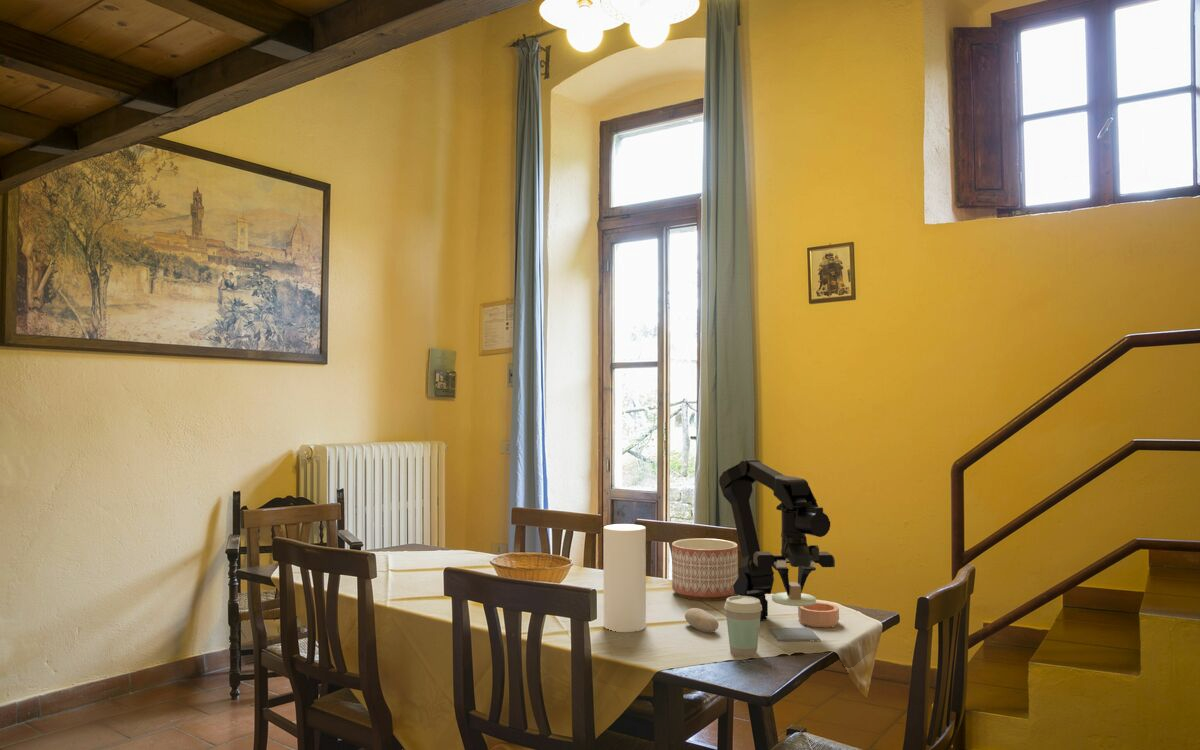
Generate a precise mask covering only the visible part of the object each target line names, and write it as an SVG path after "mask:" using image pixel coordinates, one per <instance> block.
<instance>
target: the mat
mask: <svg viewBox="0 0 1200 750" xmlns="http://www.w3.org/2000/svg"><path fill="white" fill-rule="evenodd" d="M769 629H770V630H769ZM768 630H769V631H770V632H771V634H772V635H773V634H774V635H773V636H774V637H775V639H776V638H777V639H776V640H777V641H778V642H818V641H817V640H820V641H821V638H820V637H819V636H818V635H817V634H816V632H814V631H813V630H812V629H811V627H769V628H768ZM810 640H811V641H810ZM812 640H814V641H812Z"/></svg>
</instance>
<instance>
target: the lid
mask: <svg viewBox="0 0 1200 750" xmlns="http://www.w3.org/2000/svg"><path fill="white" fill-rule="evenodd" d="M789 588H790V591H789V595H787V593H786V591H783V592H782V591H781V592H776V593H774V594H772V596H771V600H772V602H773V603H775V604H778V605H782V606H788V607H789V606H790V607H798V606H809V605H813V604H815V603H816V602H817V598H816V597H815V596H814V595H811V594H808V593H804V592H803V593H801V586H800V585H799V584H798V581H789Z"/></svg>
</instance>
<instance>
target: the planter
mask: <svg viewBox="0 0 1200 750" xmlns="http://www.w3.org/2000/svg"><path fill="white" fill-rule="evenodd" d="M738 547H739V546H738V544H737V543H736V542H735V541H731V540H725V539H718V538H707V537H706V538H703V537H702V538H701V537H700V538H699V537H698V538H685V539H683V538H682V539H678V540H675V541H673V542H672V543H671V556H672V557H671V558H672V559H671V567H672V568H671V574H672V575H671V579H672V580H671V581H672V582H671V589H672V590H673V592H675V593H677V594H678V595H679V596H680V597H682V598H686V599H689V600H695V601H696V600H697V601H721V600H727V598H729V597H732V596H733V595H736V594H735V593H734V588H733V585H734V583H735V582H736V580H737V579H738V578H739V573H738V572H739V566H738V563H739V561H738V556H739V555H738V553H739V552H738V551H739V550H738V549H739V548H738Z"/></svg>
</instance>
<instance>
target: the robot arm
mask: <svg viewBox="0 0 1200 750" xmlns="http://www.w3.org/2000/svg"><path fill="white" fill-rule="evenodd" d="M756 481H757V482H758V483H760V484H761V485H763V486H765V487H767V488H769V489H770V490H772V492H773V496H774V497H775V498H776V499H777V500H778V501H780V503H779V504H778V505H777V506H776V507H775V508H776V509H775V510H777V511H781V515H780V516H781V532H780V537H781V549H780V554H777V555H775V554H773V553H772V552H771V551H761V546H760V543H759V539H758V534H757V529H756V525H755V521H754V520H755V519H754V516H753V512H752V508H751V502H750V500H751V496H752V494H753V484H754V483H755V482H756ZM718 483H719V486H720V489H721V493H722V495H723V496H722V497H724V498H725V499H726V500H727V502H728V503H729V504H730V505H731V509H732V514H733V515H732V516H733V519H734V525H735V529H736V533H737V539H738V543H739V546H740V551H741V557H742V559H741V561H740V564H739V566H738V572H739V573H738V579H737V580H736V582H735V583H734V585H733V588H734V593H735V594H734V595H736V596H749V597H754V598H757V599H759V600H760V603H761V605H762V611H761V616H760V621H768V616H769V610H768V608H769V606H768V603H769V602H768V601H769V600H768V599H767V598H766V595H771V594H772V590H773V587H774V586H773V585H774V581H775V573H774V571H773V569H774V570H775V571H777V572H778V574H779V576H780V579H781V582H782V584H783V587H784V590H785V592H786V593H787V595H789V591H790V588H789V582H790V581H789V571H790V570H789V569H790V568H788V566H787V564H789V565H790V566H791V567H792V568H797V583H798V584H799V585H800V586H801V593H802V592H803V589H804V587H805V583H806V581H807V579H808V577H809V575H810V574H811V573H812V572H813V571H817V568H816V567H815V565H816V564H818V565H820V567H821V568H835V567H836V564H835V562H836V560H835V557H834V556H833V554H831V553H830V552H828V551H820V547H819V546H818V544H815V545H814V544H813V545H812V544H811V545H810V544H809V545H808V543H807V541H808V540H807V536H806V535H810V536H814V537H818V538H822V537H825V536H826V535H827V534H828V533H829V531H830V530H831V529H830V528H831V521H830V518H829V516H828V515H827V514H826V513H825V512H824V507H820V506H819V504H818V502H817V499H816V497H815V496H814V493H813V492H812V490H811V487H810V485H809V482H808V481H807V480H806V479H805V478H800V477H798V476H791V475H790V476H789V475H785V474H783V473H781V472H779V471H777V470H775V469H773V468H772V467H770V466H768V465H766V464H764V463H762V461H761V460H760V459H759V460H758V459H756V458H755V459H744V460H740V462H739V463H738V464H736V465H734V466H732V467H730V468H727V469H726V470H725V471H723V472H722V473H721V475H720V476H719V479H718Z"/></svg>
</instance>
